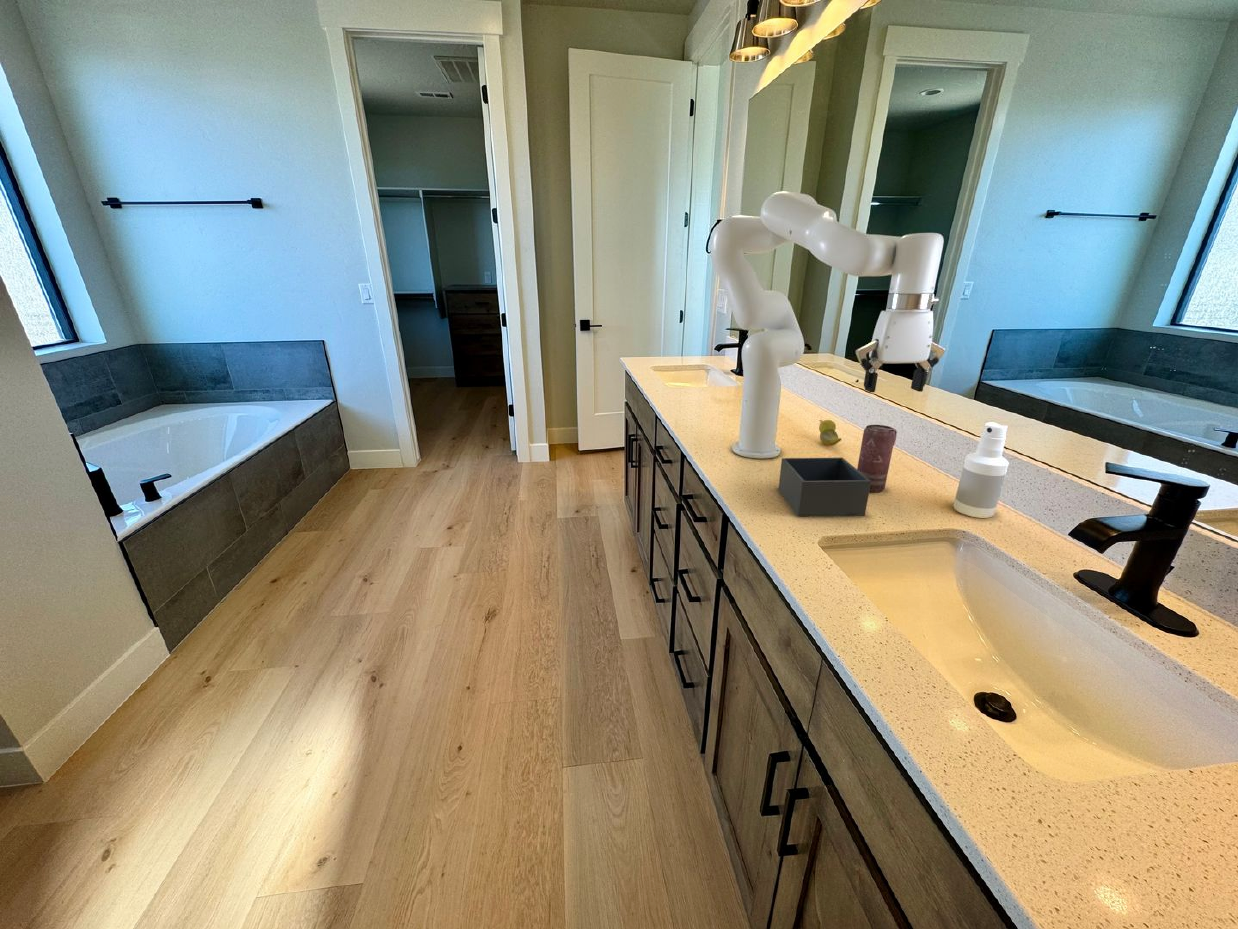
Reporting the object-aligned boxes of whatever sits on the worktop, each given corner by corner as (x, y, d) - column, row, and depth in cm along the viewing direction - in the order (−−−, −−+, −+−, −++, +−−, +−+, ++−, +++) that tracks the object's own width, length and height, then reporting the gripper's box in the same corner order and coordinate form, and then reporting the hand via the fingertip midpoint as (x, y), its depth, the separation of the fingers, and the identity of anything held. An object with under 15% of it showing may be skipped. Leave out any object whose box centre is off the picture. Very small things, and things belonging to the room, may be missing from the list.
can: (889, 494, 107) (901, 432, 101) (857, 492, 108) (868, 431, 103) (881, 483, 112) (892, 424, 107) (851, 481, 113) (861, 423, 108)
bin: (778, 489, 110) (781, 458, 107) (837, 488, 110) (842, 457, 107) (798, 516, 97) (802, 481, 95) (864, 515, 97) (871, 481, 95)
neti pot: (825, 436, 145) (828, 414, 143) (846, 453, 131) (850, 429, 129) (810, 436, 145) (813, 414, 143) (830, 453, 131) (833, 429, 129)
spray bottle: (945, 506, 100) (966, 422, 94) (968, 501, 103) (990, 418, 96) (978, 521, 94) (1003, 431, 88) (1002, 515, 97) (1028, 427, 90)
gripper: (941, 301, 99) (924, 386, 105) (855, 303, 99) (843, 387, 105) (966, 303, 92) (946, 394, 98) (873, 305, 92) (859, 395, 98)
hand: (892, 390), depth 101 cm, fingers open, 9 cm apart
